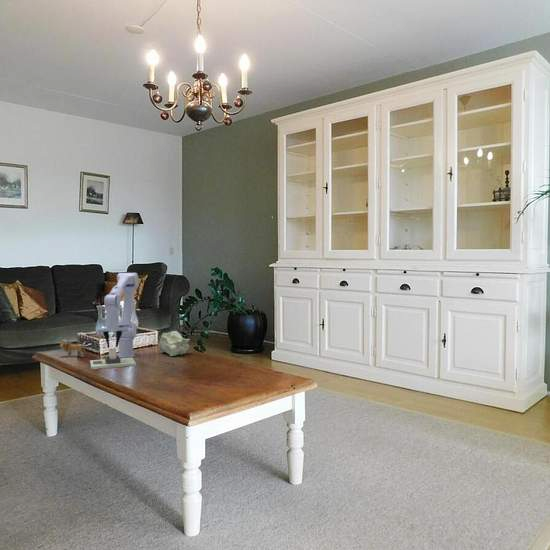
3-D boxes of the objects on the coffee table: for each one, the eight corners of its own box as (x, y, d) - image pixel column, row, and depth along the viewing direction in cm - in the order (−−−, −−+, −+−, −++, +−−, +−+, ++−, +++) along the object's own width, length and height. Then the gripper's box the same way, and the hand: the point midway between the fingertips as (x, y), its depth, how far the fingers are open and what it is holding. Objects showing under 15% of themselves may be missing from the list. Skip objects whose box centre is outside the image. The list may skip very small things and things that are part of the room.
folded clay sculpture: (183, 366, 262) (195, 342, 260) (163, 364, 253) (176, 338, 251) (168, 349, 274) (180, 325, 272) (149, 345, 265) (161, 321, 263)
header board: (90, 362, 240) (90, 356, 240) (132, 359, 248) (132, 353, 247) (91, 369, 226) (91, 362, 226) (135, 365, 234) (135, 359, 234)
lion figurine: (58, 357, 251) (58, 340, 251) (62, 355, 257) (62, 338, 256) (87, 357, 252) (87, 340, 252) (90, 355, 258) (90, 338, 257)
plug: (109, 360, 239) (108, 348, 238) (115, 360, 240) (115, 347, 240) (109, 363, 234) (109, 350, 234) (116, 362, 235) (116, 349, 235)
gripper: (96, 320, 230) (97, 349, 230) (128, 319, 235) (129, 347, 236) (96, 319, 236) (96, 347, 236) (127, 317, 242) (127, 345, 242)
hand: (112, 347), depth 236 cm, fingers open, 3 cm apart
